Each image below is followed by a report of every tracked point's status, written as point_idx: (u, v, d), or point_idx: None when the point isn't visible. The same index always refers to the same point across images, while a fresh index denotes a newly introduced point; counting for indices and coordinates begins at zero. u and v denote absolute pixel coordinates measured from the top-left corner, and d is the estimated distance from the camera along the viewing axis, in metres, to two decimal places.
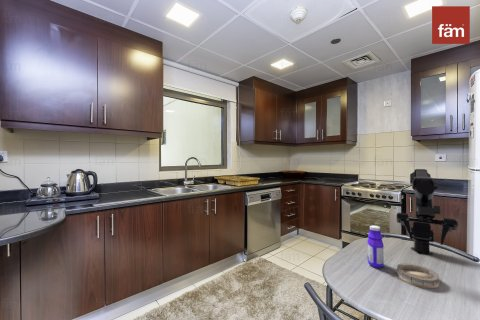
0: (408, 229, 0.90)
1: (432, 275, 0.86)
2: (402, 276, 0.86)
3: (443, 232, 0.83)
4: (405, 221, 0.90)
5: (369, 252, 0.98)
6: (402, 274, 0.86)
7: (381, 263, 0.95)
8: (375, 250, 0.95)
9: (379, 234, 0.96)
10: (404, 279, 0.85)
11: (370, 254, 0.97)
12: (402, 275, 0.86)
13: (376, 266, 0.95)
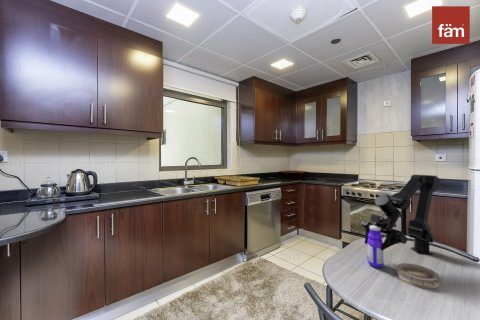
0: (366, 234, 1.02)
1: (432, 275, 0.86)
2: (402, 276, 0.86)
3: (386, 239, 0.94)
4: (366, 227, 1.04)
5: (369, 252, 0.98)
6: (402, 274, 0.86)
7: (381, 263, 0.95)
8: (375, 250, 0.95)
9: (379, 234, 0.96)
10: (404, 279, 0.85)
11: (370, 254, 0.97)
12: (402, 275, 0.86)
13: (376, 266, 0.95)
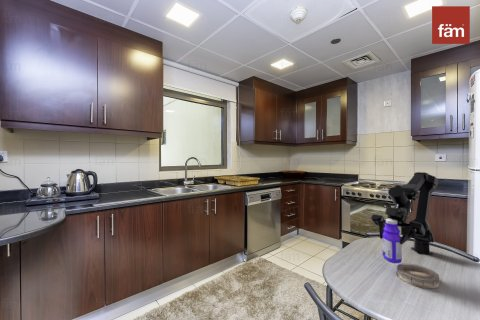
0: (380, 229, 0.96)
1: (432, 275, 0.86)
2: (402, 276, 0.86)
3: (404, 233, 0.89)
4: (379, 221, 0.98)
5: (386, 247, 0.92)
6: (402, 274, 0.86)
7: (400, 258, 0.89)
8: (395, 245, 0.89)
9: (397, 227, 0.90)
10: (404, 279, 0.85)
11: (388, 249, 0.91)
12: (402, 275, 0.86)
13: (395, 262, 0.90)
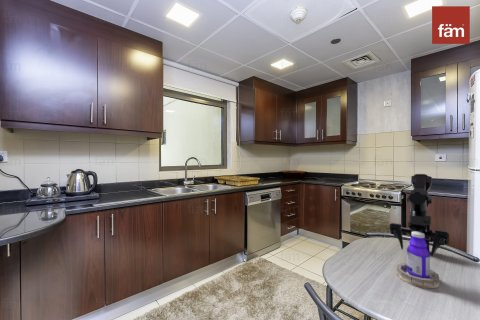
0: (400, 239, 0.90)
1: (432, 275, 0.86)
2: (402, 276, 0.86)
3: (434, 243, 0.84)
4: (397, 230, 0.92)
5: (414, 263, 0.85)
6: (402, 274, 0.86)
7: (429, 274, 0.84)
8: (425, 260, 0.83)
9: None
10: (404, 279, 0.85)
11: (417, 265, 0.84)
12: (402, 275, 0.86)
13: None
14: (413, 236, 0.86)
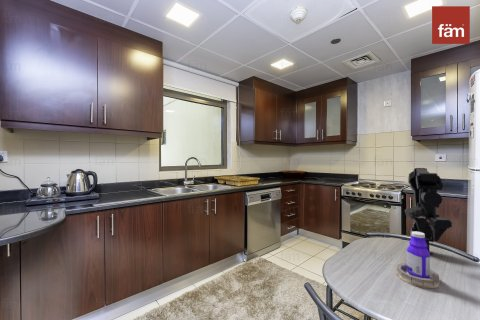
0: (416, 224, 1.01)
1: (432, 275, 0.86)
2: (402, 276, 0.86)
3: (433, 230, 0.91)
4: None
5: (414, 263, 0.85)
6: (402, 274, 0.86)
7: (429, 274, 0.84)
8: (425, 260, 0.83)
9: None
10: (404, 279, 0.85)
11: (417, 265, 0.84)
12: (402, 275, 0.86)
13: None
14: (413, 236, 0.86)
